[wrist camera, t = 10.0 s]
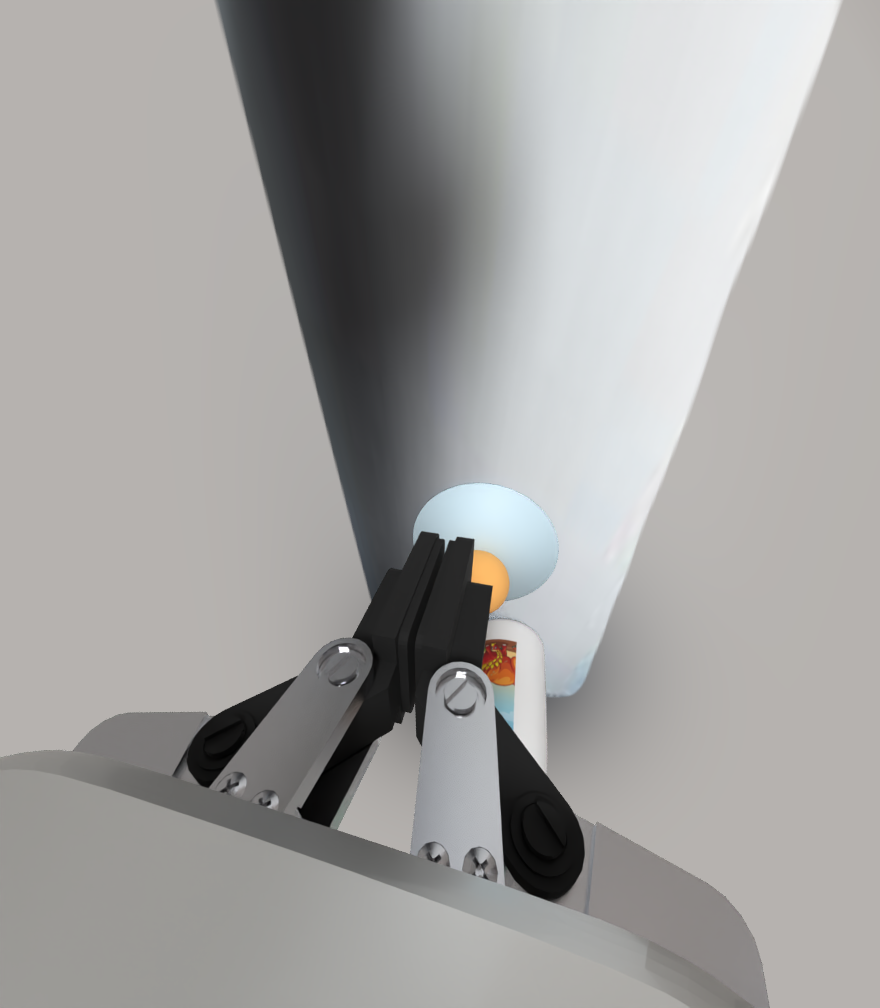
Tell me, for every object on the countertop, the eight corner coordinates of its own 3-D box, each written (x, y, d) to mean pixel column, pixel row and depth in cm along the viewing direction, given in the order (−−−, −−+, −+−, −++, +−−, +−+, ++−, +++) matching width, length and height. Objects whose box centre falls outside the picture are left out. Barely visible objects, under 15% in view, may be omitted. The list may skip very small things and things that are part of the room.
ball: (454, 539, 33) (442, 555, 28) (513, 547, 32) (513, 566, 27) (448, 594, 34) (436, 620, 28) (506, 604, 33) (504, 633, 27)
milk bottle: (548, 622, 34) (562, 931, 18) (540, 671, 38) (545, 962, 22) (470, 610, 36) (416, 884, 19) (470, 658, 40) (424, 920, 23)
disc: (411, 474, 29) (411, 475, 29) (573, 493, 27) (573, 494, 27) (415, 587, 36) (414, 589, 36) (544, 611, 34) (544, 612, 34)
